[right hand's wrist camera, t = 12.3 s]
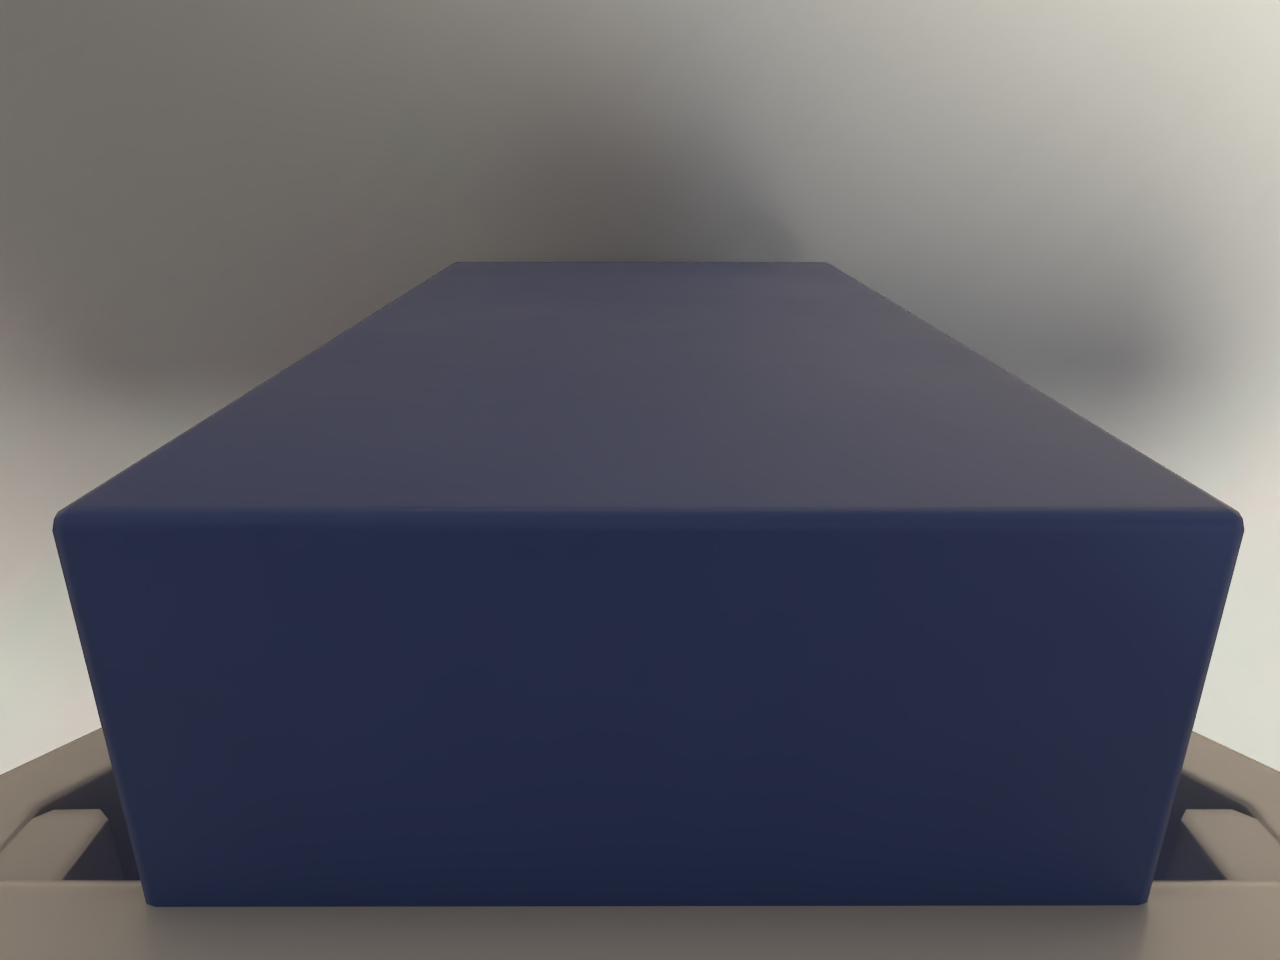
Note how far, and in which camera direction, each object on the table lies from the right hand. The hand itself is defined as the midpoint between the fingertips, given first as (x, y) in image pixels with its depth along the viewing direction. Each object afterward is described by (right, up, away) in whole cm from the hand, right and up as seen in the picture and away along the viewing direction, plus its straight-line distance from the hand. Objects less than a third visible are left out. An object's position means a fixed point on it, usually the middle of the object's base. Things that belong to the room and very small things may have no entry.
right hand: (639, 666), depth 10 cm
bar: (0, -5, +7) cm, 9 cm away
